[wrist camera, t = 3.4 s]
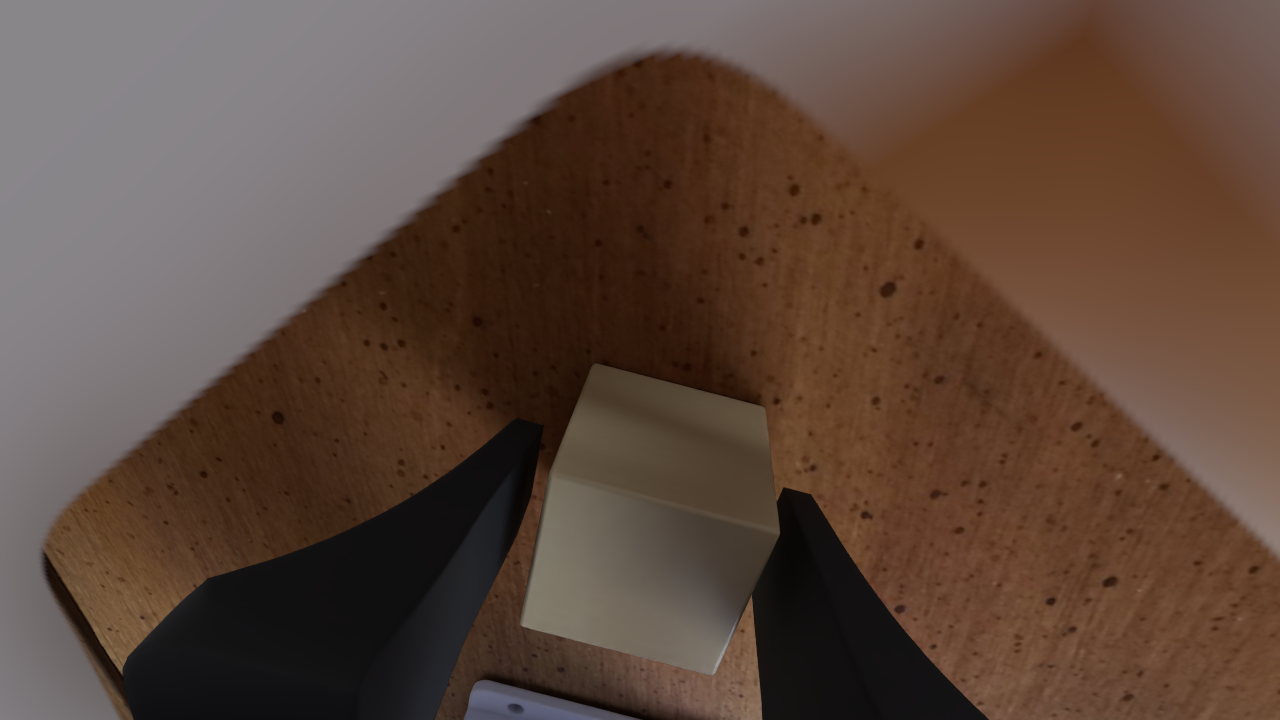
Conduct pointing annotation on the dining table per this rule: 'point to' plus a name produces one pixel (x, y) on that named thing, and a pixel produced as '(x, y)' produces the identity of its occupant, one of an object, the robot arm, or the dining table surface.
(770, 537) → the block
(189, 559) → the dining table surface
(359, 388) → the dining table surface
